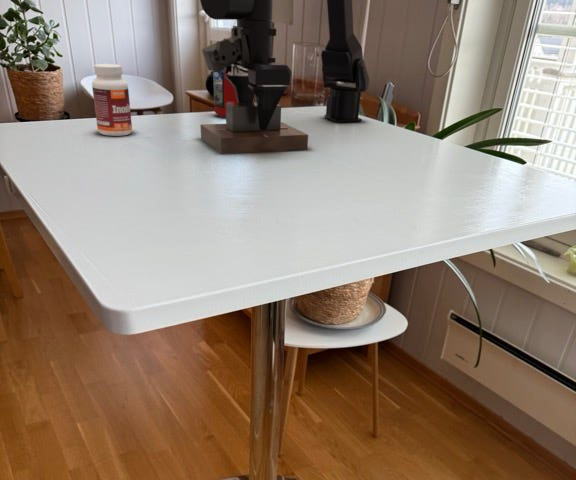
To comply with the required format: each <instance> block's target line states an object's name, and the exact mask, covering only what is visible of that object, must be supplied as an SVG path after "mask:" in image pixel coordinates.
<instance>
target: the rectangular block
mask: <svg viewBox="0 0 576 480" xmlns="http://www.w3.org/2000/svg"><path fill="white" fill-rule="evenodd" d="M281 122H282V105H281V104H278V105H277V107H276V109H275V111H274V113H273V116H272V118H271V120H270V122H269V125H268V127H267V129H266V130H261V129H260V127H259V120H258V110H257V102H253V103H234V102H227V103H226V118H225V124H226V128H227V129H229V130H231V131H232V132H245V131H272V130H280V129H281Z"/></svg>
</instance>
